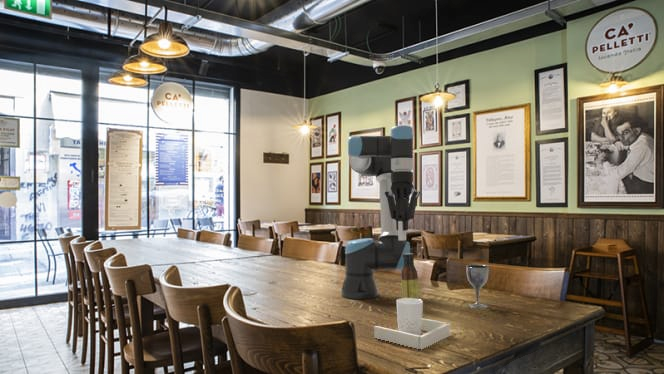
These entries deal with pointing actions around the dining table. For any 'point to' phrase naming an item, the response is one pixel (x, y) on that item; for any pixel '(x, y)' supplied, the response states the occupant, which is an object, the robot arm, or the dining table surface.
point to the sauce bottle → (409, 277)
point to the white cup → (409, 315)
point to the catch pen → (433, 335)
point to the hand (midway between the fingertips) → (402, 240)
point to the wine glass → (477, 281)
